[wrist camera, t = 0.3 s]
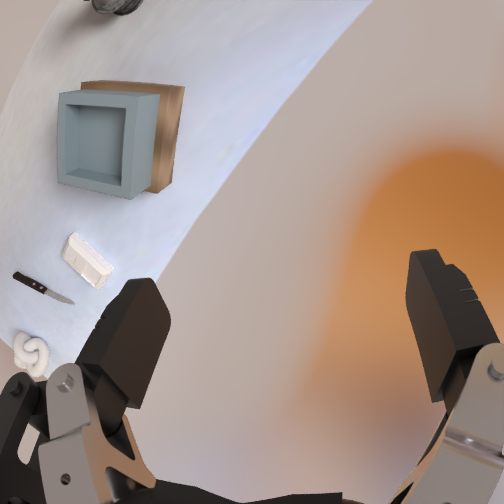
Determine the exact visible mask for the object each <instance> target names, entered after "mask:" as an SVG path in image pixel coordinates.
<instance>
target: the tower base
mask: <svg viewBox="0 0 504 504" xmlns="http://www.w3.org/2000/svg"><path fill="white" fill-rule="evenodd" d="M83 89H93V90H116V91H131V92H144V93H154V94H160V101H159V109H158V116H157V124H156V133H155V142H154V152H153V163H152V175H151V186H150V187H148V188H147V189H145V190H144V191H148V192H152V193H156V194H157V193H159V192H160V191H161V190H163V189H164V188H165V187H167V186H168V185H169V184H171V183H172V174H173V165H174V157H175V149H176V142H177V135H178V128H179V121H180V114H181V108H182V102H183V96H184V90H185V87H183V86H174V85H165V84H155V83H143V82H128V81H106V80H100V81H89V82H81V90H83Z"/></svg>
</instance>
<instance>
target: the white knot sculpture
mask: <svg viewBox="0 0 504 504" xmlns="http://www.w3.org/2000/svg"><path fill="white" fill-rule="evenodd" d="M23 343H24V344H23ZM36 349H38V351H36ZM13 351H14V354H15V356H14V363H15V365H16V366H17V367H19V368H22V369H27V371H28V372H29V374H30V375H31V376H33V377H40V376H42V375H43V374H44V372H45V371H46V368H47V366H48V362H49V348H48V346H47V344H46V342H45V341H44V340H42V339H40V338H32V337H31V336H30V335H29V334H27V333H25V332H20V333H18V334H16V336H15V337H14V339H13Z"/></svg>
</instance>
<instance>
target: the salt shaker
mask: <svg viewBox="0 0 504 504" xmlns="http://www.w3.org/2000/svg"><path fill="white" fill-rule="evenodd" d="M84 1H89V0H84ZM142 2H143V0H92V6H93V8H94V9H95V10H96V11H97V12H99V13H101V14H108V13H112V12H113V13H115V14H117V15H127V14H129V13H132V12H133V11H135V10H136V9H137V8H138V7H139V6H140V5H141V3H142Z"/></svg>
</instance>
